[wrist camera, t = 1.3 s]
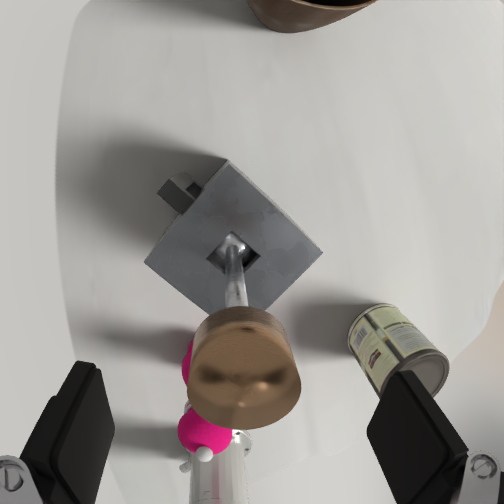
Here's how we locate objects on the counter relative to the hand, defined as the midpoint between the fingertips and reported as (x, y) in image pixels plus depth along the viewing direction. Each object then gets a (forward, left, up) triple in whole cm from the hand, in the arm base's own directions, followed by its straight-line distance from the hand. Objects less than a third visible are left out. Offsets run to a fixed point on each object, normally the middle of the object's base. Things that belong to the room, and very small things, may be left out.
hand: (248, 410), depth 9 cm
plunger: (0, 0, -19) cm, 19 cm away
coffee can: (+2, -29, -33) cm, 44 cm away
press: (0, +1, -32) cm, 32 cm away
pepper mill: (-17, -11, -33) cm, 39 cm away
